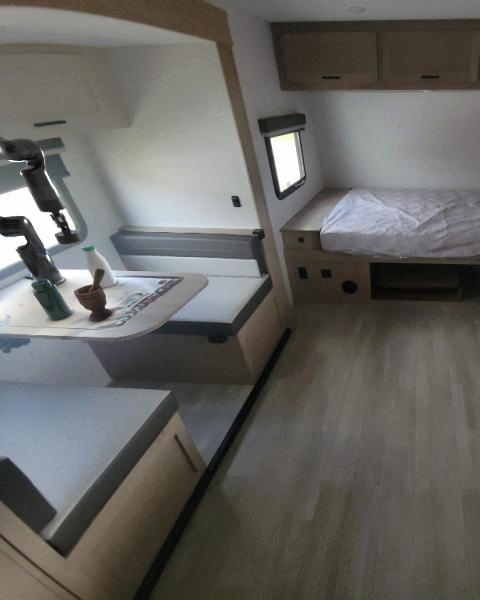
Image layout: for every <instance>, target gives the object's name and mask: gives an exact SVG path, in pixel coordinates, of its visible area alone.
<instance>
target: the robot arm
mask: <svg viewBox="0 0 480 600" xmlns="http://www.w3.org/2000/svg"><path fill="white" fill-rule="evenodd" d="M0 158H1V159H3V160H6V161H9V162H12V163H13V162H14V163H22V162H25V167H23V168H21V169H20V170H19V174H20V177H21V178H22V181H23V182H24V184H25V186H26V187H27V190H28V192H29V194H30V196H31V198H32V200H33V201H34V204H35V205H36V206H37V209H38V210H39V212H40V213H41V212H42V213H49V214H48V217H49V218H50V220H51V221H52V222H53V224H54V225H55V226H56V228H58V230H59V232H62V233H63V234H64V236H65V238H66V240H67V241H68V242H71V241H74V240H75V239H74V238H73V236H72V234H71V230H72V229H71V228H70V226H69V225H70V224H69V223H68V220H67V219H66V216H65V214H64V213H63V212H61V211H63V210H65V209H66V208H67V206H66V204H65V202H64V200H63V198H62V196H61V195H60V192H59V191H58V189H57V187H56V186H55V184H54V183H53V181H52V179H51V177H50V175H49V173H48V170H47V164H46V160H45V154H44V151H43V149H42V148H41V146H40V145H39V144H38V143H37V142H36V141H35V140H34V139H31V138H29V137H18V138H10V139H9V138H8V139H7V138H5V137H3V136H1V135H0ZM0 235H1V236H2V237H3V238H7V239H8V238H11V239H12V238H22V237H24V240H25V241H23V242H20V243H18V244H16V245H15V246H14V251H16V253H17V255H18V256H19V258H20V259H21V261H22V262H23V264H24V266H25V267H26V269H27V270H28V272H29V273H30V276H29V275H27V274H25V275H24V277H25V278H28V279H33V280H34V282H35V281H38V280H43V279H47V280H49V281H50V283H51V285H55V286H57V285H59V284H60V283H62V282H64V281H65V278H64V276H63V275H62V273H61V270H60V269H59V268H58V266H57V265H56V264H55V261H54V260H53V258H52V257H51V255H50V253H49V252H48V250H47V248H46V247H45V245H44V241H43V240H42V237H41V236H40V234H39V232H38V230H37V227H36V226H35V224H34V223H33V221H32V220H31V218H30V217H28V216H27V215H25V214H15V215H2V214H1V213H0Z"/></svg>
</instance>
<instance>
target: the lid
mask: <svg viewBox="0 0 480 600" xmlns="http://www.w3.org/2000/svg"><path fill="white" fill-rule="evenodd" d="M71 234H72V236H73V238H74V239H75V240H74V241H71V242H68V241H67V240H66V238H65V236H64V234H63V233H62V232H61V231H58V232H56V233H55V234H54V237H55V239H56V241H57V242H58V244H59V245H71V244H75V243H78V242H81V241H82V237H81V235H80V233H79V231H78V230H77V229H76V230H75V229H71Z"/></svg>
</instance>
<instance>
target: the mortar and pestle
mask: <svg viewBox="0 0 480 600" xmlns="http://www.w3.org/2000/svg"><path fill="white" fill-rule="evenodd" d="M104 273H105V270H104V269H100V268H97V269H96V271H95V274H94V279H92V280H93V282H92V284H87V285H83V286H81V287H78V288H76V289H74V291H73V294H74V295H75V297H76V299H77V301H78V302H79V304H80V305H81V306H82V308H84V309H85V310H86V311H87V310H88V311H90V312H91V313H90V314H89V319H90V321H95V322H96V321H97V322H98V321H103V320H105V319H107V318H109V317H111V316H112V315H113V311H112V310H111V309H110V308H106V305H107V304H108V301H107V296H106V293H105V291H104V289H103V288H102V286H101V285H100V282H101V280H102V278H103V276H104Z"/></svg>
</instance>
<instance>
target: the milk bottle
mask: <svg viewBox="0 0 480 600" xmlns="http://www.w3.org/2000/svg"><path fill="white" fill-rule="evenodd" d="M81 249H82V252H83V253H84V254H85V266H86V268H87V269H88V272H89V274H90V275H91V277H92V280H94V274H95V271H96V269H97V268H100V269H104V270H105V273H104V276H103V278H102V280H101V282H100V285H101V286H102V289H103V288H109V287H112V286H114V285H116V284H117V278H116V275H115V274H114V272H113V270H112V269H111V266H110V264H109V263H108V261H107V259H106V258H105V257H104V256H103V255H101V254H100V253H99V252H98V251H97V247H96V245H94V244H86V245H82V246H81Z"/></svg>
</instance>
